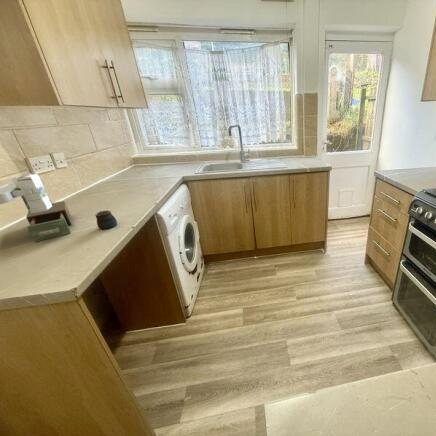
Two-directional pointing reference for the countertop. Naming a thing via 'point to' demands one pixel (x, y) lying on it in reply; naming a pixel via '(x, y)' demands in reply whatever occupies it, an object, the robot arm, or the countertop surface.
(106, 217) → the mate gourd
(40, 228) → the drawer
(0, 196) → the robot arm
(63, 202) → the cabinet
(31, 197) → the syrup box
